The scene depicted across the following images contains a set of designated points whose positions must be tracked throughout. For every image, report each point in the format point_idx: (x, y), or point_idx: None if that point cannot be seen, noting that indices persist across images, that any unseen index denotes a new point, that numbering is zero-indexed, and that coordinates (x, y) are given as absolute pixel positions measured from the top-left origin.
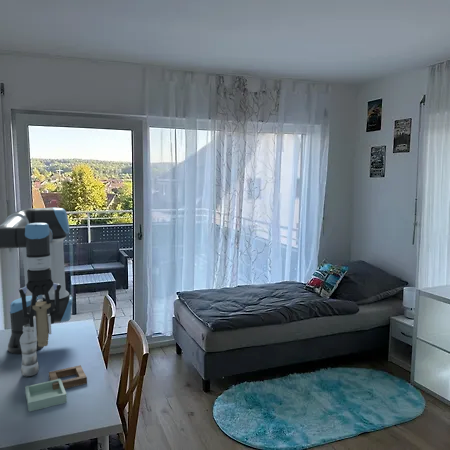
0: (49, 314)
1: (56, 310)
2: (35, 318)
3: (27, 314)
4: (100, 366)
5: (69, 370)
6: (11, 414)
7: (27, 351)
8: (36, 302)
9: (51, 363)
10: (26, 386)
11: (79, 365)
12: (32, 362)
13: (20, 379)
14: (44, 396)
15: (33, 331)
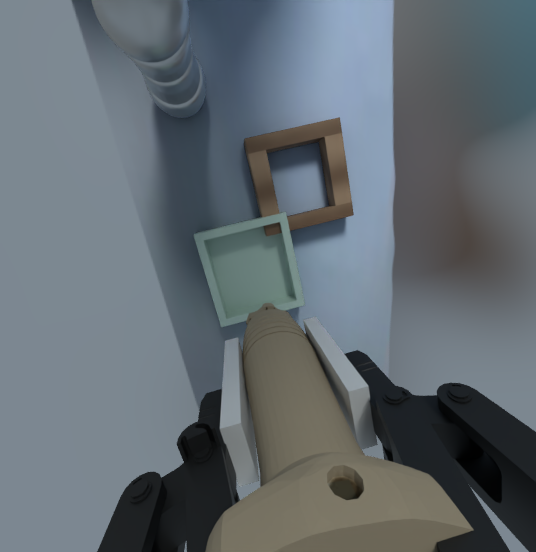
0: (368, 406)
1: (458, 461)
2: (255, 479)
3: (181, 538)
4: (388, 107)
5: (305, 141)
6: (185, 319)
7: (158, 76)
8: (274, 550)
9: (236, 12)
10: (197, 235)
11: (336, 118)
12: (186, 96)
13: (157, 121)
14: (247, 264)
15: (225, 352)
